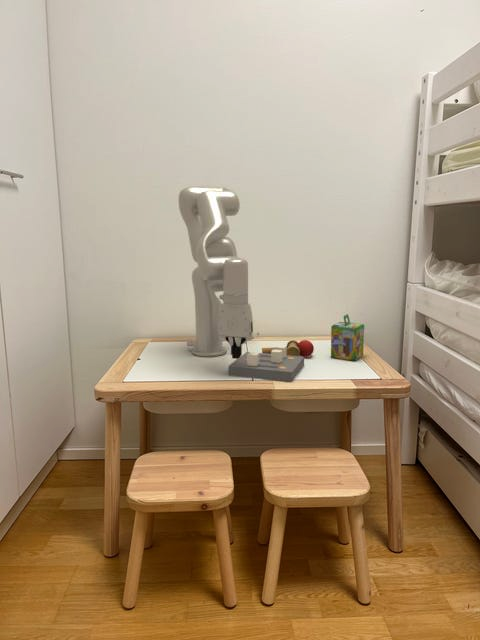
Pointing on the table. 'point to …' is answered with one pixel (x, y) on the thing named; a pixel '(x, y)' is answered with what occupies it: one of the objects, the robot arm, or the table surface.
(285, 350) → the tab far
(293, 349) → the kendama
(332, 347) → the chalk box
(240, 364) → the switch bank
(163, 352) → the table surface
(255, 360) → the tab near
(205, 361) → the table surface
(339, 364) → the table surface
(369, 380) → the table surface
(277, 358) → the tab middle
